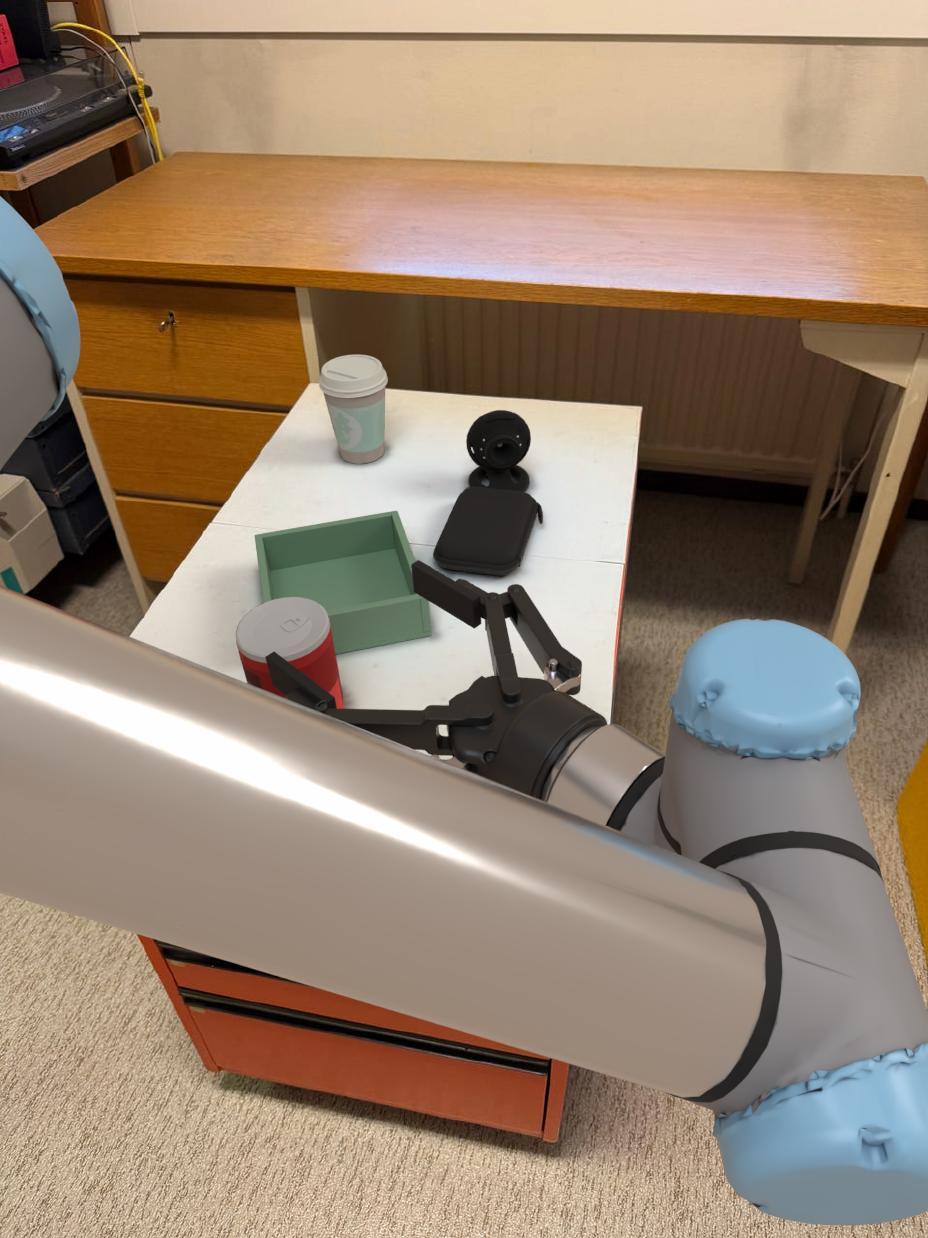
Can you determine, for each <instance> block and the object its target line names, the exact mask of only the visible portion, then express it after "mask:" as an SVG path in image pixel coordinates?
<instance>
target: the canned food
mask: <svg viewBox="0 0 928 1238" xmlns="http://www.w3.org/2000/svg"><path fill="white" fill-rule="evenodd" d="M234 634H235V641H236V642H235V643H236V647H237V651H238V655H239V659H240V662H241V666H242V669H243V673H244V677H245V680H246V683H247V684H250V685H252V686H255V687H258V688H260V689H263V690H265V691H268V692H270V693H273V694H275V695H278V696H280V697H283V698H285V699H287V698H286V695H285V694H283V693H282V692H281V691H279V690H278V689H277V688H276V687H274V686H273V685H272V681H271V677H270V673H269V670H268V666H267V662H266V658H265V657H266V656H267V655H269V654H271V653H272V652H276V653H277V654H278V655H280V656H281V657H282V658H284V659H285V660H286V661H288V662H289V663H290V664H292V665H293V666H294V667H296V668H297V669H298V670H300V671H301V672H302V673H303V674H305V675H306V676H307V677H309V678H310V679H311V680H313V681H314V682H315V683H317V684H318V685H319V686H321V687H322V688H323V689H325V690H326V691H327V692H329V693H330V694H331V695H332V696H334V697H335V701H336V706H337V709H344V705H345V704H344V703H345V699H344V694H343V688H342V683H341V677H340V671H339V665H338V660H337V654H336V653H335V648H334V642H333V636H332V630H331V626H330V621H329V618H328V614H327V612H326V610H325V609H324V608H323V607H322V606H321V605H320V604H318V603H317V602H315V601H313V600H310V599H306V598H301V597H285V598H279V599H274V600H271V601H268V602H265V603H263V602H262V603H261V604H259V605H256V606H255V607H253V608H252V609H250V610H249V611H248V612H247V613H246V614H244V615H243V616H242V618H241V619H240V621H239V622H238V624H237V626H236V629H235V633H234Z"/></svg>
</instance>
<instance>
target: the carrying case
mask: <svg viewBox="0 0 928 1238" xmlns="http://www.w3.org/2000/svg"><path fill="white" fill-rule="evenodd" d="M536 518H538V522H539V524H540V525H542V524H543V522H544V511H543V508H542V505H541V504H540V503H539V501H537V500H536V499H535V498H534V497H533V496H532V495H531V494H530V493H528V492H525V491H524V492H521V491H512V490H502V489H493V488H483V487H469V486H468V487H466V488H465V489H463V491H462V492H460V493H459V495H458V496H457V498H456V500H455V503H454V504H453V506H452V509H451V511H450V513H449V515H448V518H447V520H446V522H445V524H444V526H443V529H442V531H441V533H440V535H439V537H438V540H437V542H436V543H435V544H436V545H435V547H434V549H433V553H432V556H433V560H434V561H435V563H436V564H437V565H439V566H440V567H441V568H444V569H447V570H451V571H459V572H460V571H461V572H468V573H473V574H474V573H476V574H484V575H492V576H498V577H499V576H507V575H510V574H511V573H512V572H514V571H515V570H516V569H518V568H520V567H521V564H522V560H523V557H524V554H525V552H526V549H527V546H528V543H529V540H530V536H531V533H532V530H533V528H534V525H535V521H536Z"/></svg>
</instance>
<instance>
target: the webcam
mask: <svg viewBox="0 0 928 1238" xmlns="http://www.w3.org/2000/svg"><path fill="white" fill-rule="evenodd" d="M531 441H532V437H531V429H530V427H529V425H528V423H527V421H526V420H525V419H524V418H522V416H521V415H519V414H518V413H517V412H515V411H514V412H513V411H511V410H506V409H497V410H492V411H489V412H487V413H484V414H483V415H480V416H478V417H477V419H475V420H474V421H473V423H472V424H471V425H470V427H469V430H468V432H467V434H466V439H465V443H466V450H467V454H468V456H469V458H470V459H471V461H473V463H474V464H475V465H477V467H476V468H475V469H474V470H472V471H471V473H470V474H469V476H468V487H483V488H493V489H502V490H512V491H521V492H525V491H527V490H528V488H529V486H530V476H529V473H528V471H526V470H525V468H523V467H522V466H520V465H519V463H520V462H522V461H523V460H524V459H525V458H526V456H527V455H528V452H529V450H530V446H531V443H532V442H531ZM486 476H487V479H488V481H489V483H488V485H485V484H483V483H481V480H482V479H483V478H485V477H486ZM513 477H514V478H515V479H517V482H515V481H514V479H513Z"/></svg>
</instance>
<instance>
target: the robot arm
mask: <svg viewBox="0 0 928 1238" xmlns="http://www.w3.org/2000/svg"><path fill="white" fill-rule="evenodd" d="M80 354H81V328H80V322H79V316H78V312H77V309H76V305H75V304H74V301H73V300H71V296H70V294H69V290H68V288H67V286H66V283H65V281H64V277H63V273H62V271H61V269H60V267H59V265H58V264H57V262H56V260H55V258H54V257H53V255H52V254H51V252H50V250H49V248H47V246H46V244H44V242H43V240H42V239H41V238H40V237H39V235H38V234H37V233H36V232H35V230H34V229H33V228H32V226H31V225H30V224H29V223H28V222H27V221H26V220H25V219H24V218H23V217H22V216H21V215H20V214H19V212H18V211H17V210H16V209H15V208H14V207H13V206H12V205H11V204H9V203H8V202H7V201H6V200H5V199H4V198H3V197H2V196H1V195H0V471H1V470H2V469H3V467H4V466H5V464H6V463H7V462H8V461H9V459H10V458H11V457H12V455H14V453H15V452H16V450H18V448H19V446H20V445H21V444H22V443H23V442H24V440H25V439H26V437H27V436H28V435H29V434H30V433H31V432H32V430H34V428H35V427H36V426H37V425H38V424H39V423H40V422H43V421H47V420H48V419H49V418H50V417H51V416H53V415H54V414H55V413H56V412H57V411H58V409H59V408H60V406H61V405H62V403H63V401H64V398H65V396H66V393H67V388H68V387H69V385H70V384H71V382H72V380H73V378H74V376H75V374H76V372H77V368H78V366H79V360H80ZM415 561H416V562H414V563H413V564H411V568H412V577H413V587H414V592H415V593H416V594H418V595H420V596H421V597H423V598H425V599H426V600H428V601H429V603H431V604H433V605H435V606H436V607H437V608H439V609H441V610H442V611H444V612H446V613H448V614H450V615H451V616H452V617H454V618H456V619H457V620H460V621H461V622H463V623H464V624H466V626H467V625H468V626H469V627H471V628H472V629H476V628H478V627H479V626H481V625H482V619H483V620H484V631H486V637H487V642H488V649H489V654H490V660H491V665H492V671H493V675H490V676H486V677H485V676H484V675H481V676H479V677H478V678H476V680H473V682H472V683H471V685H470V686H469V687H468V689H466V690H464V691H462V692H459V693H457V694H456V695H454V696H453V697H452V698H451V699H449V700H448V704H446V705H445V704H430V705H427V706H426V707H425V708H424V709H383V708H381V709H379V708H378V709H377V708H376V709H375V708H343V709H337V706H336V701H335V697H334V696H332V695H331V694H330V693H329V692H327V691H326V690H325V689H323V688H322V687H321V686H319V685H318V684H317V683H315V682H314V681H313V680H311V679H310V678H309V677H307V676H306V675H305V674H303V673H302V672H301V671H300V670H298V669H297V668H296V667H294V666H293V665H292V664H290V663H289V662H288V661H286V660H285V659H284V658H282V657H281V656H280V655H278V654H277V653H276V652H272V653H271V654H269V655H267V656H266V657H265V658H266V662H267V666H268V670H269V673H270V677H271V681H272V685H273V686H274V687H276V688H277V689H278V690H279V691H281V692H282V693H283V694H285V695H286V698H287V699H285V698H283V697H280V696H278V695H275V694H273V693H270V692H268V691H265V690H263V689H260V688H258V687H255V686H252V685H250V684H247V682H245V681H243V680H240V679H237V678H235V677H232V676H230V675H227V674H224V673H222V672H220V671H217V670H215V669H212V668H210V667H208V666H204V665H202V664H199V663H197V662H194V661H192V660H189V659H188V658H184V657H181V656H180V655H177V654H174V653H172V652H169V651H166V650H164V649H162V648H159V647H156V646H154V645H151V644H149V643H146V642H144V641H142V640H139V639H137V638H135V637H131V636H129V635H127V634H124V633H121V632H119V631H117V630H114V629H111V628H108V627H106V626H103V625H101V624H98V623H96V622H93V621H91V620H88V619H86V618H83V617H81V616H78V615H76V614H73V613H71V612H68V611H66V610H63V609H60V608H58V607H55V606H53V605H51V604H48V603H45V602H43V601H41V600H38V599H37V598H33V597H30V596H28V595H25V594H22V593H20V592H18V591H16V590H13V589H10V588H8V587H5V586H3V585H0V894H2V895H6V896H9V897H13V898H16V899H19V900H23V901H26V902H30V903H32V904H36V905H40V906H43V907H46V908H50V909H53V910H56V911H59V912H64V913H66V914H70V915H73V916H76V917H79V918H82V919H86V920H90V921H93V922H96V923H100V924H103V925H106V926H110V927H112V928H115V929H120V930H123V931H126V932H130V933H133V934H135V935H140V936H143V937H147V938H150V939H153V940H156V941H159V942H163V943H167V944H169V945H173V946H176V947H180V948H182V949H186V950H189V951H193V952H196V953H199V954H203V955H205V956H208V957H212V958H216V959H219V960H222V961H225V962H228V963H229V962H230V963H233V964H236V965H239V966H242V967H246V968H249V969H252V970H255V971H259V972H263V973H266V974H269V975H271V976H276V977H279V978H281V979H286V980H289V981H291V982H296V983H300V984H303V985H306V986H309V987H313V988H316V989H319V990H323V991H326V992H330V993H333V994H336V995H339V996H343V997H345V998H349V999H353V1000H356V1001H359V1002H363V1003H366V1004H370V1005H371V1006H375V1007H380V1008H383V1009H386V1010H389V1011H393V1012H396V1013H398V1014H403V1015H406V1016H409V1017H412V1018H416V1019H419V1020H423V1021H426V1022H429V1023H432V1024H436V1025H438V1026H443V1027H445V1028H449V1029H452V1030H455V1031H459V1032H463V1033H466V1034H469V1035H472V1036H475V1037H479V1038H483V1039H485V1040H489V1041H492V1042H495V1043H499V1044H502V1045H506V1046H509V1047H512V1048H516V1049H519V1050H523V1051H525V1052H529V1053H532V1054H536V1055H539V1056H541V1057H546V1058H549V1059H551V1060H552V1059H553V1060H556V1061H559V1062H562V1063H565V1064H569V1065H573V1066H576V1067H579V1068H582V1069H586V1070H589V1071H592V1072H594V1073H600V1074H602V1075H605V1076H609V1077H611V1078H616V1079H619V1080H622V1081H626V1082H628V1083H633V1084H635V1085H639V1086H643V1087H646V1088H649V1089H653V1090H656V1091H659V1092H663V1093H665V1094H667V1095H670V1096H672V1097H674V1098H678V1099H681V1100H684V1101H688V1102H691V1103H692V1104H694V1105H697V1106H700V1107H702V1108H705V1109H708V1110H710V1111H712V1112H713V1122H714V1123H713V1126H712V1128H713V1129H712V1134H711V1135H712V1137H714V1138H715V1139H716V1142H717V1145H718V1149H719V1154H720V1158H721V1163H722V1167H723V1172H724V1175H725V1178H726V1180H727V1182H728V1184H729V1185H730V1186H731V1188H732V1189H733V1191H734V1192H735V1193H736V1195H737V1196H738V1197H739V1198H742V1199H743V1200H745V1201H747V1202H748V1203H749V1204H750V1205H751V1206H753V1207H754V1208H756V1209H758V1211H760V1212H761V1213H763V1214H766V1215H769V1216H771V1217H774V1218H778V1219H782V1220H786V1221H790V1222H796V1223H800V1224H801V1223H802V1224H809V1225H821V1226H864V1225H865V1226H866V1225H878V1224H884V1223H891V1222H897V1221H901V1220H905V1219H909V1218H912V1217H917V1216H920V1215H922V1214H925V1213H926V1212H928V1008H927V1005H926V1003H925V1001H924V997H923V994H922V992H921V989H920V986H919V983H918V980H917V977H916V973H915V971H914V968H913V965H912V963H911V960H910V956H909V953H908V951H907V947H906V944H905V942H904V939H903V935H902V933H901V930H900V926H899V924H898V921H897V918H896V915H895V912H894V910H893V907H892V903H891V901H890V897H889V895H888V892H887V889H886V885H885V882H884V878H883V875H882V871H881V868H880V864H879V860H878V858H877V855H876V852H875V848H874V846H873V842H872V838H871V836H870V834H869V830H868V827H867V826H868V825H867V823H866V820H865V818H864V814H863V811H862V808H861V805H860V802H859V798H858V795H857V792H856V789H855V786H854V783H853V780H852V777H851V775H850V772H849V768H848V764H847V756H846V755H847V754H846V753H847V747H848V746H849V742H851V740H853V738H854V737H855V735H856V734H857V728H856V727H857V725H858V720H857V715H858V710H859V705H860V701H861V694H862V690H861V689H862V688H861V682H860V679H859V675H858V673H857V670H856V668H855V667H854V664H853V663H852V662H851V660H850V659H849V658H848V656H847V655H846V654H845V653H844V652H843V651H842V650H841V648H839V647H838V646H837V645H836V644H835V643H833V642H832V641H830V640H829V639H827V638H826V637H825V636H824V635H821V634H819V633H818V632H816V631H813V630H812V629H811V628H810V629H809V628H807V627H805V626H802V625H799V624H797V623H793V622H789V621H786V620H781V619H773V618H771V619H765V620H763V619H759V618H755V619H749V618H741V619H735V620H730V621H727V622H724V623H723V622H722V623H721V624H718V625H716V626H714V627H711V628H710V629H708V630H707V631H705V632H704V633H703V634H701V635H700V636H699V637H697V638H696V639H695V640H694V641H693V642H692V644H691V645H690V647H689V648H688V649H687V651H686V653H685V655H684V657H683V661H682V664H681V667H680V671H679V675H678V679H677V682H676V686H675V689H674V690H673V694H672V695H671V696H670V700H669V707H670V710H671V714H670V721H669V728H668V735H667V742H666V749H665V753H664V752H662V751H661V750H659V748H656V747H654V746H653V745H651V744H650V743H648V742H646V741H645V740H644V739H642V738H640V737H639V736H637V735H636V734H634V733H633V732H631V731H629V730H628V729H626V728H624V727H623V726H621V725H620V724H616V723H608V721H607V719H606V717H604V715H602V714H600V713H599V712H597V711H596V710H594V709H593V708H591V707H589V706H588V705H586V704H585V703H583V702H581V701H579V700H578V699H576V698H574V696H576V695H578V694H579V693H580V692H581V688H582V687H581V686H582V673H583V672H582V671H583V662H582V660H581V658H578V657H577V656H575V655H574V654H573V653H571V652H570V651H569V650H567V649H566V648H565V647H563V645H562V644H561V643H560V642H559V641H560V640H558V638H557V637H556V635H555V634H554V632H553V631H552V630H551V628H550V626H549V624H548V623H547V621H546V620H545V619H544V617H543V615H542V613H540V611H539V609H538V607H537V606H536V604H535V603H534V601H533V600H532V598H531V597H530V595H529V594H528V591H526V589H525V587H524V586H523V585H521V584H518V583H514V584H510V585H509V586H507V590H506V591H505V592H502V593H498V592H495V591H494V592H493V591H492V592H491V591H490V592H488V591H485V590H484V589H483V588H481V587H479V586H477V585H475V584H473V583H471V582H470V581H469V580H466V579H463V578H457V579H456V580H454V579H453V578H451V577H449V576H447V575H445V574H444V573H442V572H440V571H438V570H436V569H435V568H433V567H431V566H430V565H428V564H427V563H425V562H424V561H421V560H420V559H417V560H415ZM506 619H509V620H510V622H511V623H512V625H513V626H514V628H515V630H516V631H517V633H518V635H519V637H520V638H521V640H522V642H523V644H524V645H525V646H526V648H527V649H528V651H529V653H530V655H531V656H532V658H533V660H534V661H535V663H536V665H537V666H538V668H539V669H540V671H541V672H542V674H543V679H542V678H536V677H535V678H534V677H523V676H519V675H518V669H517V664H516V661H515V656H514V652H513V651H512V645H511V641H510V636H509V631H508V627H507V621H506ZM440 726H446V732H447V735H441V734H440V728H439V727H440ZM421 751H425V752H426V753H427V754H426V753H424V752H421ZM440 756H445V757H447V756H448V757H449V756H450V757H451V756H452V757H451V758H448V759H443V758H440Z"/></svg>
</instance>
